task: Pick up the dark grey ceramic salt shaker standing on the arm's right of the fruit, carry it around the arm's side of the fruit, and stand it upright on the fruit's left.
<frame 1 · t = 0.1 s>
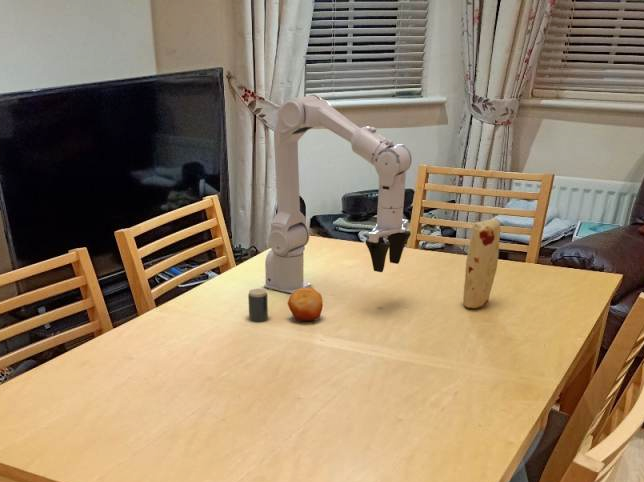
hand: (386, 267, 176), 10 cm above the table, tool pointing down, fingers open, 7 cm apart
food model: (475, 305, 184), on the table
fruit: (305, 319, 177), on the table
salt shaker: (258, 318, 178), on the table
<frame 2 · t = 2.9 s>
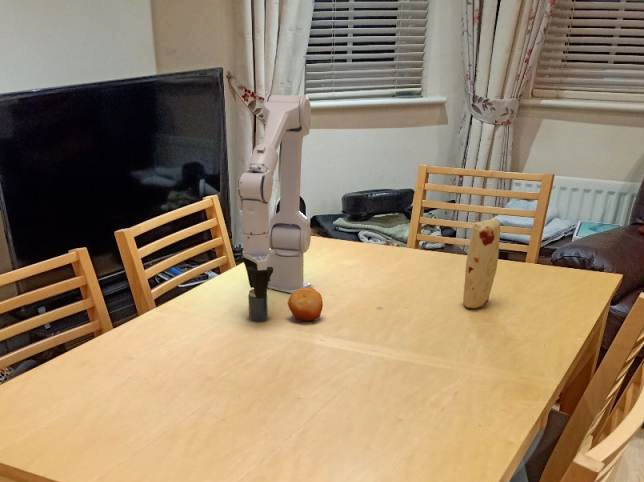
hand: (257, 292, 174), 6 cm above the table, tool pointing down, fingers open, 7 cm apart
nothing on the table moved.
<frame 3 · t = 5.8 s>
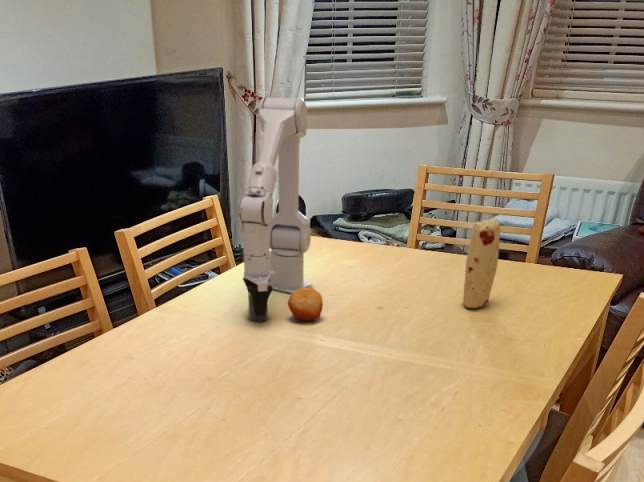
hand: (258, 312, 177), 2 cm above the table, tool pointing down, fingers closed on salt shaker, 4 cm apart
salt shaker: (258, 318, 178), on the table, touching gripper
everything else where it was.
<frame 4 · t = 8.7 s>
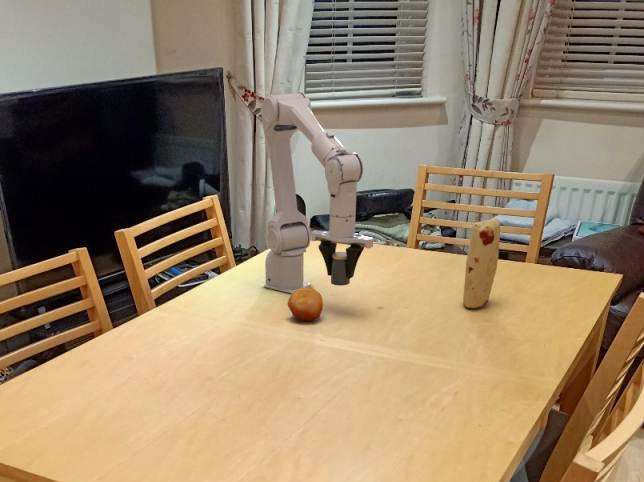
hand: (340, 275, 175), 9 cm above the table, tool pointing down, fingers closed on salt shaker, 4 cm apart
salt shaker: (340, 282, 176), point 7 cm above the table, touching gripper
everything else where it was.
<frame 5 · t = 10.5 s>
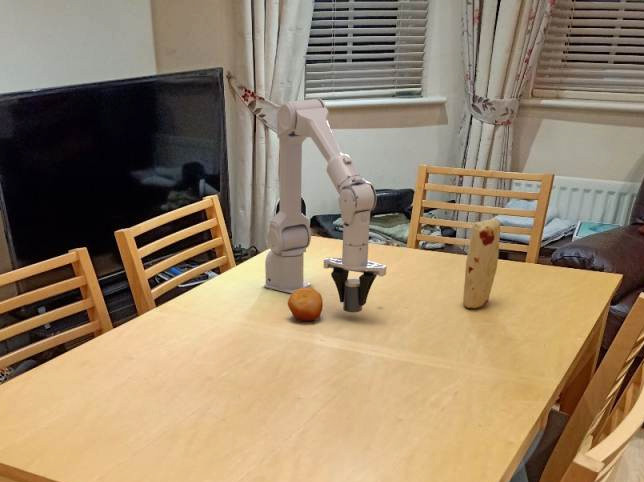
hand: (353, 302, 175), 4 cm above the table, tool pointing down, fingers closed on salt shaker, 4 cm apart
salt shaker: (352, 309, 176), point 2 cm above the table, touching gripper
everything else where it was.
when the fingers open (1 cm above the table, at t = 11.8 s): salt shaker stays where it is, on the table.
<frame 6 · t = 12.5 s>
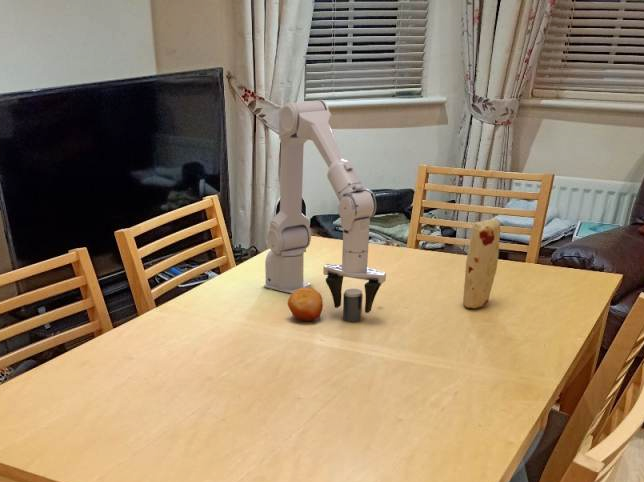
hand: (352, 308, 176), 2 cm above the table, tool pointing down, fingers open, 7 cm apart
salt shaker: (352, 318, 177), on the table
everything else where it was.
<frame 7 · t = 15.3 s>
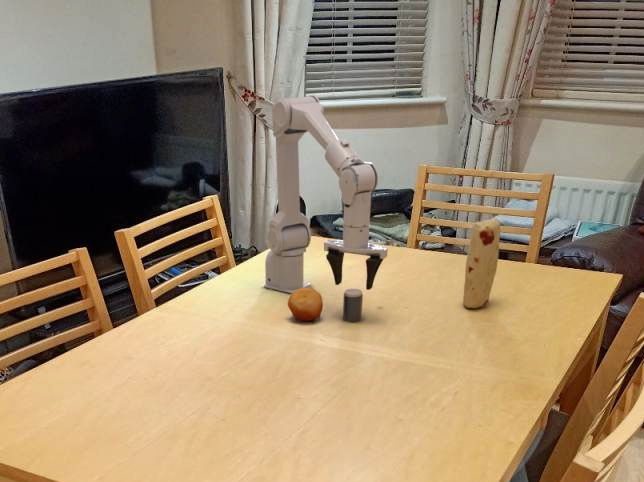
hand: (353, 286, 173), 8 cm above the table, tool pointing down, fingers open, 7 cm apart
nothing on the table moved.
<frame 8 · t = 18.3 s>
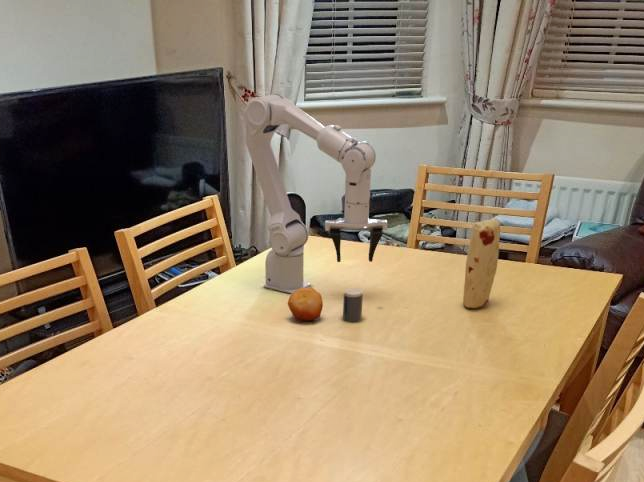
hand: (354, 260, 183), 9 cm above the table, tool pointing down, fingers open, 7 cm apart
nothing on the table moved.
at the end: salt shaker 0.2 cm from the target spot on the table beside the fruit, on the table; salt shaker tilted 0°; fruit moved 0.2 cm from its start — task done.
